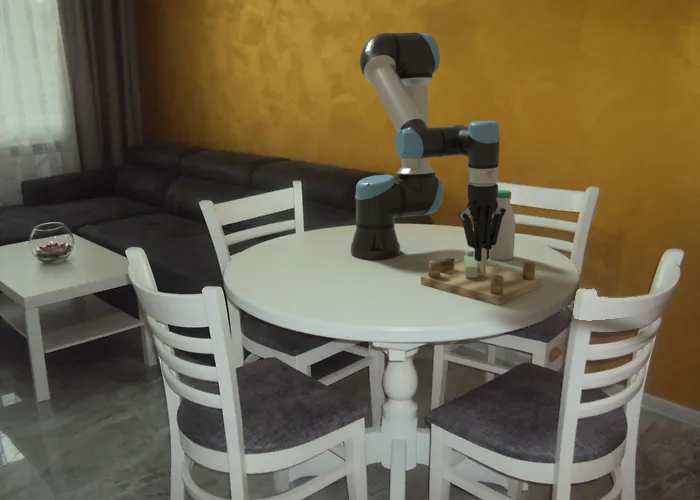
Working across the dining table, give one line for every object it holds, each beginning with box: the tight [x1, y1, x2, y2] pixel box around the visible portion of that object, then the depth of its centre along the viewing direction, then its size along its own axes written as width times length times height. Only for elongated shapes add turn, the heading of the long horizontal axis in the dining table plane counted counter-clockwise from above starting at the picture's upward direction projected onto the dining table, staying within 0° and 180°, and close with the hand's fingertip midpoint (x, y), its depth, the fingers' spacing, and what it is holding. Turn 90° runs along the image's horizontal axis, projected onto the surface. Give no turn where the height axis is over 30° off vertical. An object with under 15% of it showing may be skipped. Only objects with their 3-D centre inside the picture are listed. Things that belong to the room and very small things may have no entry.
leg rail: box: [463, 250, 478, 278], centre depth 180 cm, size 12×3×4 cm, turn 174°
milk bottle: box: [489, 189, 516, 261], centre depth 197 cm, size 8×8×20 cm
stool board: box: [420, 256, 543, 306], centre depth 175 cm, size 24×20×6 cm
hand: (481, 272), depth 176 cm, fingers closed
